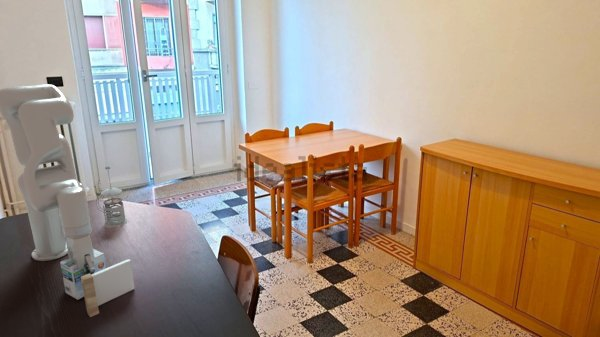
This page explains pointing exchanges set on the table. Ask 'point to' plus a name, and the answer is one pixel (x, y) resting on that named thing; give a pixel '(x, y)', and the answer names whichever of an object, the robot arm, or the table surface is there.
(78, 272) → the light bulb box
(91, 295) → the tan wooden blocky piece
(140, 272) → the table surface
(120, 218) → the french press
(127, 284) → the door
